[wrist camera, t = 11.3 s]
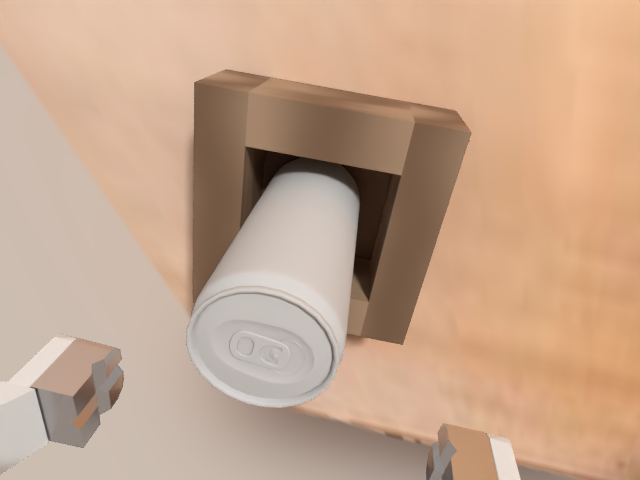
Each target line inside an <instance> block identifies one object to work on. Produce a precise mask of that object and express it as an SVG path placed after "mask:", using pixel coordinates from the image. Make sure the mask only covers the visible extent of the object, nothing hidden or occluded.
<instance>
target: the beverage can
mask: <svg viewBox="0 0 640 480" xmlns="http://www.w3.org/2000/svg"><path fill="white" fill-rule="evenodd" d="M359 208H360V198H359V191H358V188H357V185H356V182H355V180H354V179H353V178H352V176H351V175H350V173H349V172H348V171H347V170H346V169H345V168H344V167H342V166H341V165H340V164H338V163H332V162H327V161H322V160H316V159H311V158H306V157H305V158H300V159H296V160H293V161H290V162H288V163H287V164H285V165H283V166H282V167H281V168H280V169H279V170H278V171H277V172H276V174H275V175H274V176H273V178H272V179H271V181H270V183H269V184H268V186H267V187H266V189H265V191H264V192H263V194H262V195H261V197H260V199H259V200H258V202H257V203H256V205H255V207H254V208H253V210H252V211H251V213H250V214H249V216H248V218H247V219H246V221H245V222H244V224H243V226H242V227H241V229H240V230H239V232H238V234H237V235H236V237H235V238H234V240H233V242H232V243H231V245H230V246H229V248H228V250H227V251H226V253H225V254H224V256H223V258H222V259H221V261H220V262H219V264H218V266H217V267H216V269H215V270H214V272H213V273H212V275H211V277H210V278H209V280H208V281H207V283H206V285H205V286H204V288H203V289H202V291H201V293H200V294H199V296H198V298H197V300H196V303H195V305H194V308H193V310H192V313H191V320H190V322H189V325H188V327H187V339H186V340H187V341H186V345H187V348H188V352H189V355H190V358H191V361H192V362H193V364H194V365H195V367H196V368H197V370H198V372H199V373H200V374H201V375H202V376H203V377H204V378H205V379H206V380H207V381H208V382H209V383H210V384H211V385H212V386H213V387H215V388H216V389H218V390H219V391H221V392H222V393H224V394H225V395H227V396H229V397H231V398H234V399H236V400H239V401H241V402H244V403H247V404H251V405H256V406H260V407H272V408H284V407H290V406H296V405H300V404H302V403H305V402H307V401H310V400H312V399H314V398H316V397H317V396H318V395H320V394H321V393H322V392H323V391H325V390H326V389H327V388H328V386H329V385H330V383H331V382H332V380H333V379H334V378H335V375H336V372H337V368H338V365H339V364H340V362H341V360H342V356H343V352H344V348H345V344H346V335H347V325H348V316H349V306H350V296H351V286H352V276H353V266H354V257H355V247H356V237H357V227H358V217H359Z"/></svg>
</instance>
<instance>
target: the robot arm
mask: <svg viewBox="0 0 640 480" xmlns="http://www.w3.org/2000/svg"><path fill="white" fill-rule="evenodd" d="M121 359H122V357H121V351H120V349H118V348H115V347H111V346H107V345H103V344H99V343H96V342H92V341H88V340H84V339H80V338H76V337H72V336H68V335H63V334H60V335H57V336H55V337H54V338H52V339H51V340H50V341H49V342H48V343H47V344H46V345H45V346H44V347H43V348H42V349H41V350H40V351H39V352H38V353H37V354H36V355H35V356H34V357H33V358H32V359H31V360H30V361H29V362H28V363H27V364H26V365H25V366H24V367H22V368H21V370H19V371H18V372H17V373H16V374H15V375H14V376H13V377H12V378H11V379H10V380H9V381H8V382H4V381H0V474H2V473H3V472H5V471H6V470H8V469H9V468H11V467H12V466H14V465H16V464H17V463H19V462H20V461H22V460H23V459H25V458H26V457H28V456H29V455H31V454H33V453H34V452H36V451H37V450H38V449H40V448H42V447H43V446H45V445H46V444H48V443H49V441H53V442H58V443H62V444H67V445H72V446H76V447H81V448H84V446H85V445H86V443H87V442H88V441H89V439H90V438H91V437H92V435H93V434H94V432H95V431H96V429H97V428H98V427H99V425H100V414H102V413H104V412H106V411H108V410H109V409H111V408H112V406H113V405H114V404H115V402H116V401H117V399H118V397H119V394H120V392H121V390H122V387H123V380H124V375H123V371H122V369H121V368H120V367H119V366H118V365H117V364H118V363H119V362H120V361H121ZM426 480H521V479H520V476H519V472H518V468H517V464H516V461H515V457H514V453H513V449H512V446H511V442H510V441H509V440H508V438H505V437H501V436H496V435H492V434H488V433H484V432H481V431H476V430H472V429H467V428H462V427H458V426H453V425H449V424H443V425H442V426H441V427H440V429H439V431H438V442H436V443H434V444H432V447H431V449H430V452H429V455H428V460H427V469H426Z"/></svg>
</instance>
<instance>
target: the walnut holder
mask: <svg viewBox="0 0 640 480" xmlns="http://www.w3.org/2000/svg"><path fill="white" fill-rule="evenodd" d="M471 133H472V132H471V131H470V130H469V128H468V127H467V125H466V124H465V123H464V121H463V120H462V118H461V117H460V116H459V114H458V113H457V112H456V111H455V110H449V109H443V108H438V107H432V106H427V105H421V104H416V103H410V102H404V101H399V100H393V99H388V98H382V97H377V96H371V95H365V94H360V93H354V92H349V91H343V90H338V89H332V88H326V87H321V86H315V85H310V84H304V83H299V82H293V81H287V80H282V79H276V78H271V77H265V76H260V75H254V74H248V73H243V72H237V71H232V70H224V71H221V72H219V73H216V74H214V75H211V76H209V77H206V78H204V79H201V80H199V81H196V82H194V244H193V303H196V300H197V298H198V296H199V294H200V293H201V291H202V289H203V288H204V286H205V285H206V283H207V281H208V280H209V278H210V277H211V275H212V273H213V272H214V270H215V269H216V267H217V266H218V264H219V262H220V261H221V259H222V258H223V256H224V254H225V253H226V251H227V250H228V248H229V246H230V245H231V243H232V242H233V240H234V238H235V237H236V235H237V234H238V232H239V230H240V229H241V227H242V226H243V224H244V222H245V221H246V219H247V218H248V216H249V214H250V213H251V211H252V210H253V208H254V207H255V205H256V203H257V202H258V200H259V199H260V197H261V190H262V179H263V168H264V157H265V150H268V151H273V152H279V153H284V154H289V155H295V156H300V157H306V158H311V159H316V160H322V161H327V162H332V163H338V164H343V165H349V166H354V167H359V168H365V169H370V170H375V171H381V172H386V173H391V174H392V175H391V179H390V183H389V187H388V191H387V196H386V200H385V204H384V208H383V212H382V216H381V220H380V224H379V228H378V232H377V237H376V241H375V245H374V249H373V253H372V257H371V260H368V259H363V258H357V257H354V266H353V276H352V286H351V296H350V306H349V316H348V325H347V334H351V335H356V336H361V337H366V338H371V339H376V340H381V341H386V342H391V343H396V344H401V345H403V342H404V339H405V336H406V333H407V330H408V327H409V324H410V321H411V318H412V315H413V312H414V308H415V305H416V302H417V299H418V296H419V293H420V290H421V287H422V284H423V281H424V278H425V275H426V271H427V268H428V265H429V262H430V259H431V256H432V253H433V250H434V247H435V244H436V241H437V237H438V234H439V231H440V228H441V225H442V222H443V219H444V216H445V213H446V210H447V207H448V204H449V200H450V197H451V194H452V191H453V188H454V185H455V182H456V179H457V176H458V173H459V170H460V166H461V163H462V160H463V157H464V154H465V151H466V148H467V145H468V142H469V139H470V136H471Z"/></svg>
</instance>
